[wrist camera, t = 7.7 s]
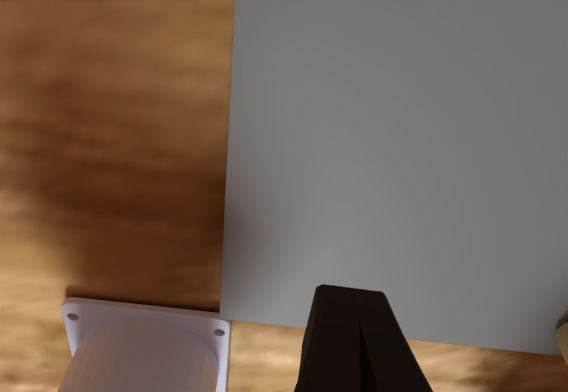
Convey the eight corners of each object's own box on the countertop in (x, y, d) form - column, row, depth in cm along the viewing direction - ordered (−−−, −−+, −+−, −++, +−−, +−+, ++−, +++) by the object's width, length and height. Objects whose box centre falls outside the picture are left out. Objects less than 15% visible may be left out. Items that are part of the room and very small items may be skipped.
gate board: (615, 345, 25) (703, 500, 19) (222, 302, 24) (194, 448, 19) (1004, -153, 13) (1529, -128, 7) (252, -256, 13) (200, -314, 7)
